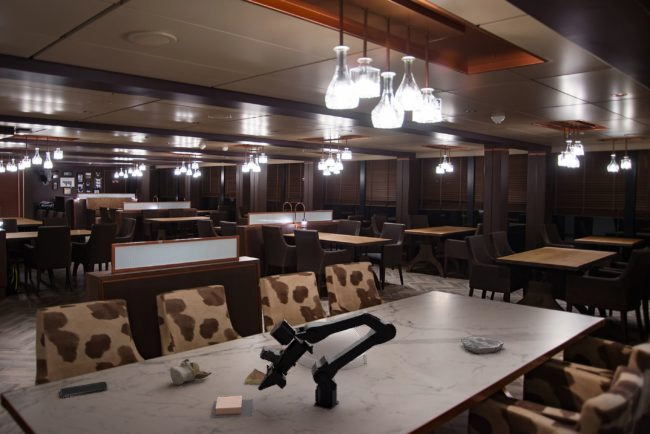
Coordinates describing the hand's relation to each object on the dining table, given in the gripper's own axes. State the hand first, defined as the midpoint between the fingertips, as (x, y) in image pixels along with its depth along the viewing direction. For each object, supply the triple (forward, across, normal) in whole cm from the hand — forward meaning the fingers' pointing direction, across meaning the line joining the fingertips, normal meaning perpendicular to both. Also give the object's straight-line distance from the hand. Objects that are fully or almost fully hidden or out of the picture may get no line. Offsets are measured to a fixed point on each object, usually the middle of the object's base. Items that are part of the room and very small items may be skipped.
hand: (258, 389), depth 165 cm
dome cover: (-17, -47, +27) cm, 56 cm away
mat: (+10, 0, -2) cm, 11 cm away
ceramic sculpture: (+23, -28, -15) cm, 39 cm away
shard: (+6, -25, +3) cm, 26 cm away
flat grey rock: (-65, -52, +77) cm, 114 cm away
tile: (+7, 0, -1) cm, 7 cm away
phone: (+48, -22, -40) cm, 66 cm away
